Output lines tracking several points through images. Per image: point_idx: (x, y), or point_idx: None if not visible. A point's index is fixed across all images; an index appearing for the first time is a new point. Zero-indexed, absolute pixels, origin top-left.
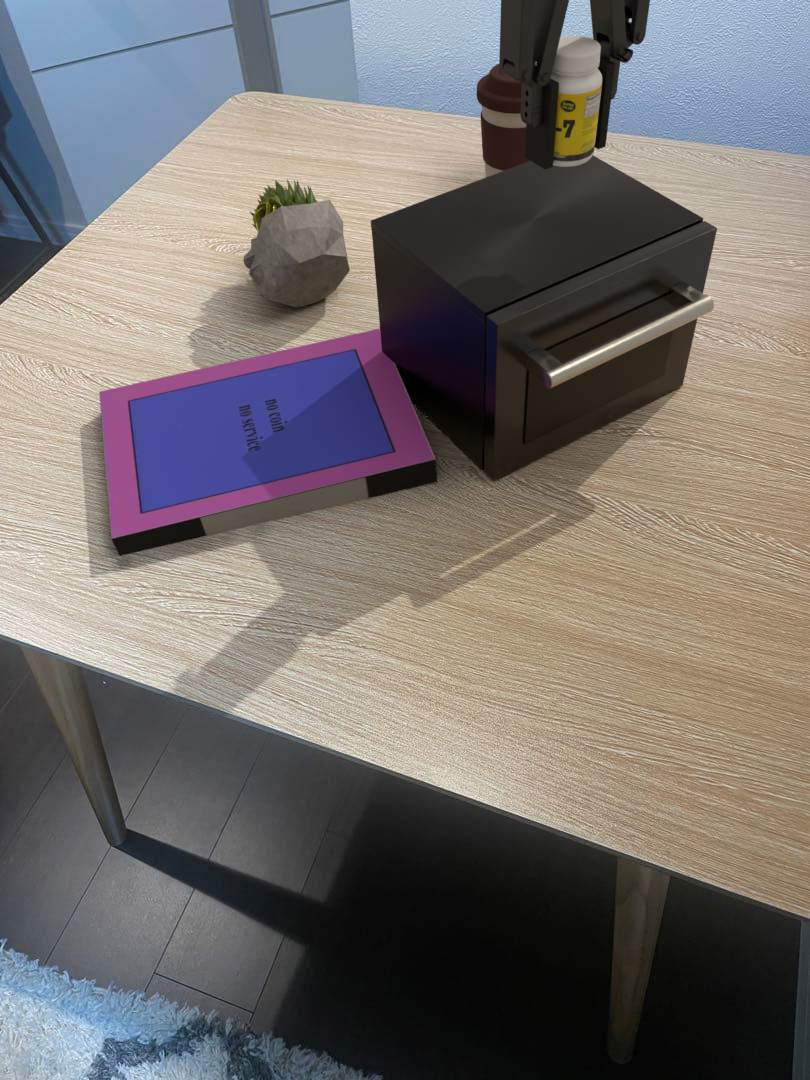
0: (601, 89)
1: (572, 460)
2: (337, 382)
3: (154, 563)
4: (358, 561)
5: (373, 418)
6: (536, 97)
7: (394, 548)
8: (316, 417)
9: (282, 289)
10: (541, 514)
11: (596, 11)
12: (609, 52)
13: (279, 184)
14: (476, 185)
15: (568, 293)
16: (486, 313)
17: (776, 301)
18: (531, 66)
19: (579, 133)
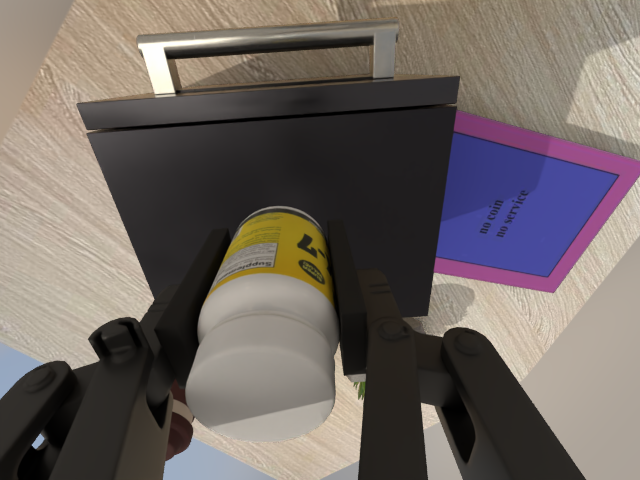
0: (201, 296)
1: (319, 59)
2: None
3: (621, 139)
4: (526, 54)
5: None
6: (388, 306)
7: (497, 51)
8: (471, 199)
9: (414, 323)
10: (381, 12)
11: None
12: (153, 363)
13: None
14: None
15: (345, 84)
16: (454, 106)
17: (32, 145)
18: (457, 359)
19: (286, 230)
